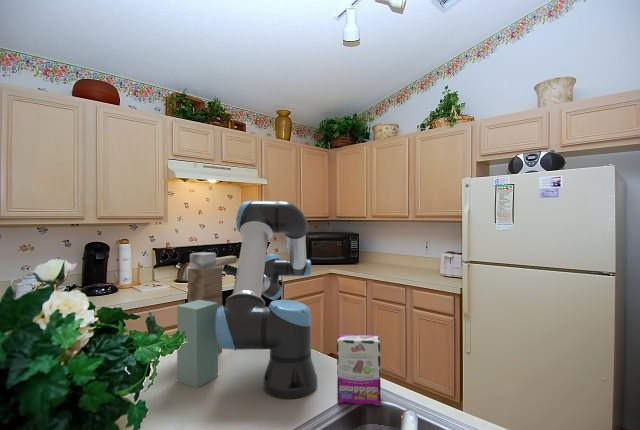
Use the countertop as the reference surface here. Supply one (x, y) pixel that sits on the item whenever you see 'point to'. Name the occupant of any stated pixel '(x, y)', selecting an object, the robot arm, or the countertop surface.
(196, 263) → the meat mallet
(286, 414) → the countertop surface
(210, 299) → the walnut pillar
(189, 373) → the sage block
